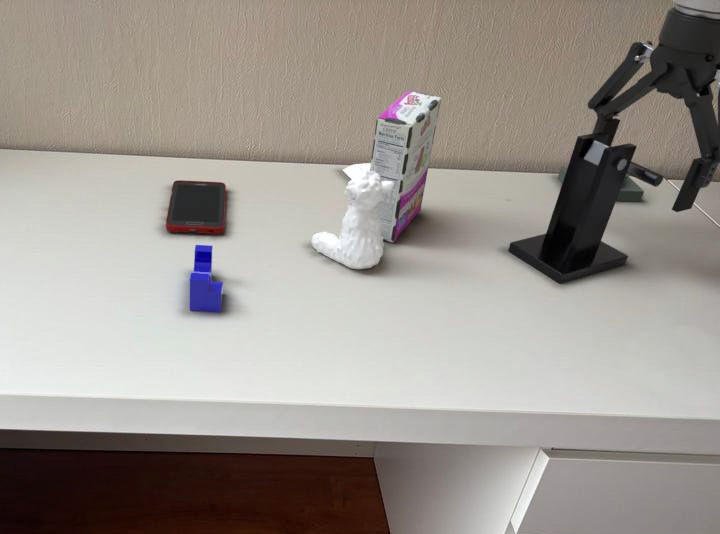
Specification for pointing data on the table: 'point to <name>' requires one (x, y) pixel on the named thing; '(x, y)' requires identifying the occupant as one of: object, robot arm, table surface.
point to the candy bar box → (403, 158)
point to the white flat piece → (356, 169)
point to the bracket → (581, 216)
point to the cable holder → (204, 283)
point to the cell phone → (196, 207)
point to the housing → (627, 191)
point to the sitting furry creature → (358, 224)
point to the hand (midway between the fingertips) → (635, 187)
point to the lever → (633, 170)
